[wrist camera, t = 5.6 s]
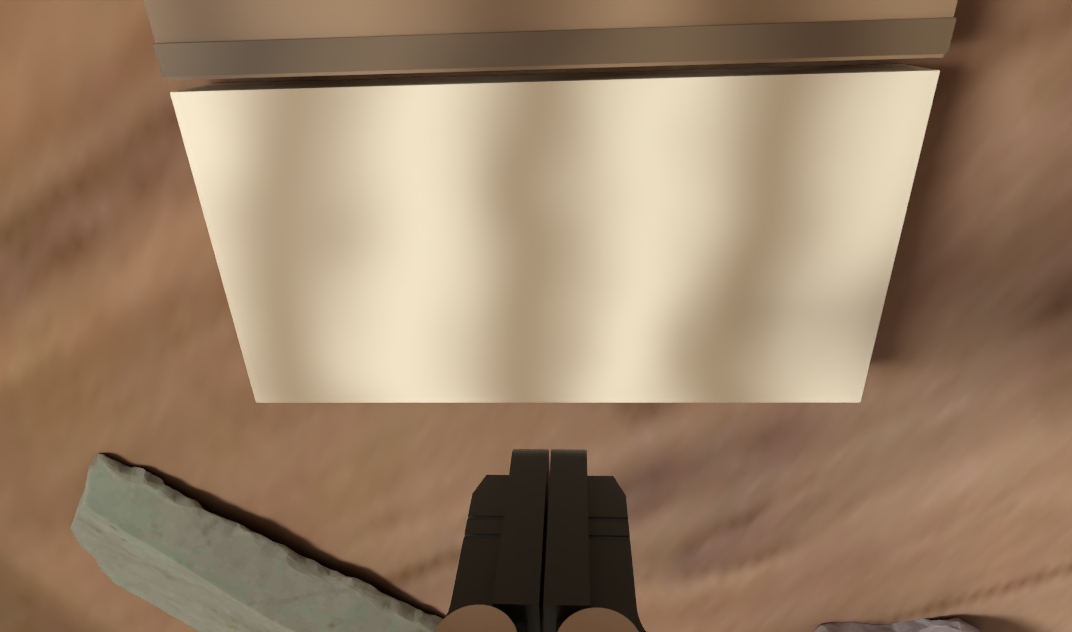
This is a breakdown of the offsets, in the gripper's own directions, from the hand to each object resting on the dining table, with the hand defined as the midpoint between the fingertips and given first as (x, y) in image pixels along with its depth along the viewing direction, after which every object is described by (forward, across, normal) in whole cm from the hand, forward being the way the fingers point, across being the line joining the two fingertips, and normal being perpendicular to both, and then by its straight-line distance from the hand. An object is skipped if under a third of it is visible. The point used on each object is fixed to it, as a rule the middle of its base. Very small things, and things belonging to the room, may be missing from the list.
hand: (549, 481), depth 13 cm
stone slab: (+10, +13, +18) cm, 24 cm away
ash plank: (+9, 0, -2) cm, 9 cm away
